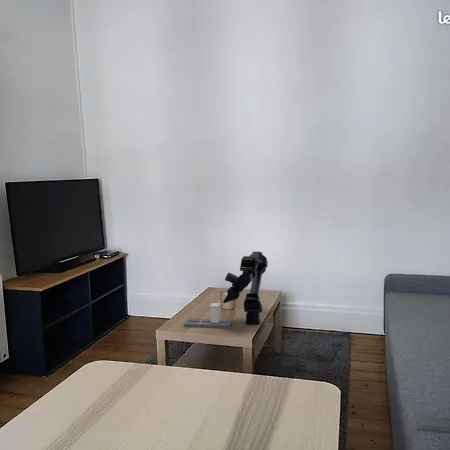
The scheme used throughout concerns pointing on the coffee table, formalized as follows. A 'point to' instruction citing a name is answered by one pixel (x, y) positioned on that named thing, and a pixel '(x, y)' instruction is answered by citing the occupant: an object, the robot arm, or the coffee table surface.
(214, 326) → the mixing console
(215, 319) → the fader knob
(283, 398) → the coffee table surface
